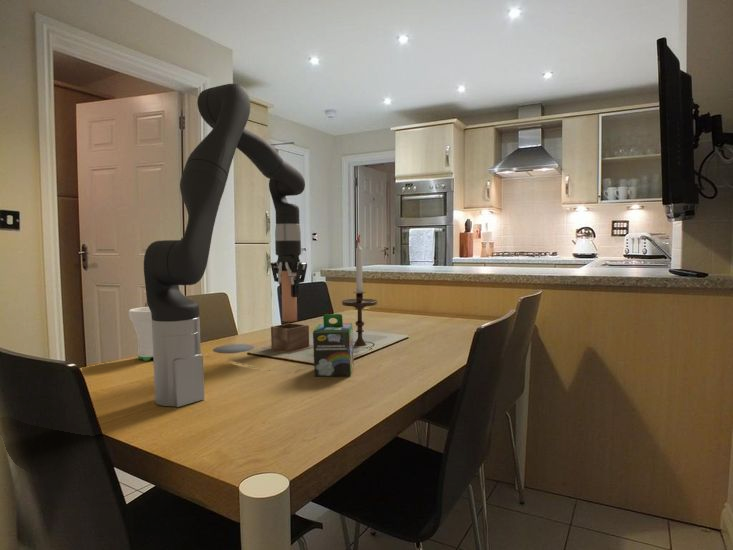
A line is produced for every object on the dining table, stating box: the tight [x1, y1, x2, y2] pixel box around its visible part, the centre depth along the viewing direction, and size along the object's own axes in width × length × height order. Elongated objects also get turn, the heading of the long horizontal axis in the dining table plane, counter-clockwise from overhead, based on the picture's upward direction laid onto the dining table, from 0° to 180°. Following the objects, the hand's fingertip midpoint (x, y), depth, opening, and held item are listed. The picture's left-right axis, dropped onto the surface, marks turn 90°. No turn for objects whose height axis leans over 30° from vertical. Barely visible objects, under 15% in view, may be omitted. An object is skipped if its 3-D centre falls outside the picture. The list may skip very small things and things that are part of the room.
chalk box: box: [312, 313, 355, 377], centre depth 119 cm, size 9×9×15 cm
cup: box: [128, 306, 153, 362], centre depth 135 cm, size 11×11×14 cm
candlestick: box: [341, 234, 378, 349], centre depth 145 cm, size 11×11×35 cm
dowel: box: [281, 271, 298, 323], centre depth 143 cm, size 4×4×15 cm
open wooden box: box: [261, 322, 313, 355], centre depth 144 cm, size 12×12×7 cm
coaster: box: [212, 343, 255, 354], centre depth 143 cm, size 12×12×1 cm
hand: (289, 296), depth 143 cm, fingers closed on dowel, 4 cm apart
